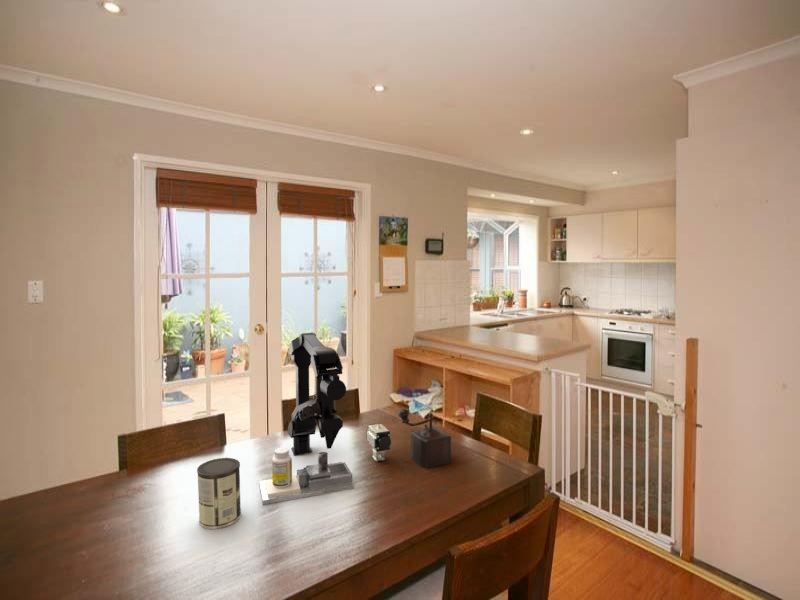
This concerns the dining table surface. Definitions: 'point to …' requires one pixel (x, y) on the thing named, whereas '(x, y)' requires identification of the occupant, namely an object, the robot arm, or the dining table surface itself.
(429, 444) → the pepper mill
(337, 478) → the press base
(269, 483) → the plate
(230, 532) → the dining table surface
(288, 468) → the supplement bottle
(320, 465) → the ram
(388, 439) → the pneumatic valve
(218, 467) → the coffee can
